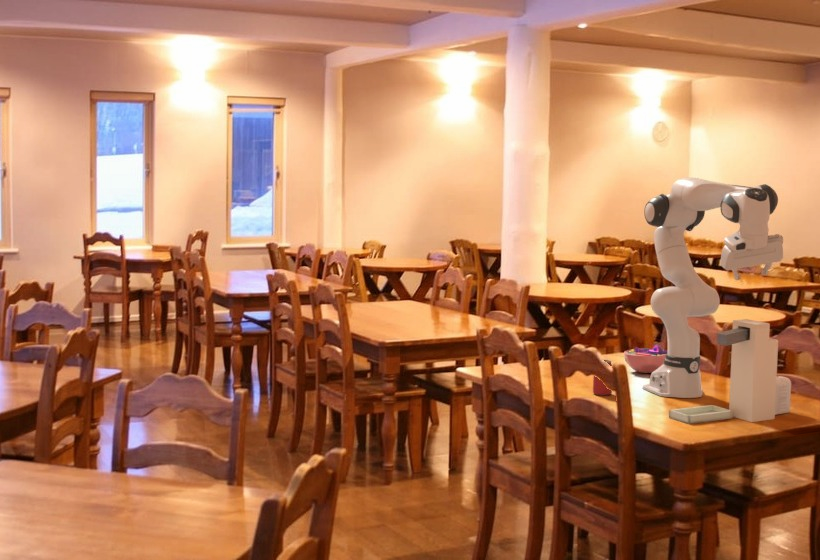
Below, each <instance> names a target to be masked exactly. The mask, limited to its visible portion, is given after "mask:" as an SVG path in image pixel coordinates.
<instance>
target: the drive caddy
mask: <svg viewBox="0 0 820 560" xmlns="http://www.w3.org/2000/svg"><path fill="white" fill-rule="evenodd" d="M716 339H717V342H716V343H717V345H722V346H727V347H728V346H730V345H731V346H732V344H735V343H739V342H743V341H747V340H750V328H747V327H740V328H736V329H733V328H732V329H728V330H725V331H720V332H717V333H716Z"/></svg>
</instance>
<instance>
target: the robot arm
mask: <svg viewBox="0 0 820 560" xmlns="http://www.w3.org/2000/svg"><path fill="white" fill-rule="evenodd" d="M778 197H779V196H778V194H777V192H776V190H774V188H773V187H771V186H770V185H768V184H767V183H766V184H760V185H757V186H754V187H753V186H747V185H746V186H744V185H737V184H728V183H722V182H716V181H711V180H707V179H703V178H698V177H682V178H678V179H677V180H675V181H674V182H673V184H672V185H671V188H670V193H669V194H664V193H660V194H659V195H658V196H656V197H652V198H651V199H649V200H648V201H647V203H646V204H645V206H644V214H643V215H644V218H645V221H646V223H647V224H648V225H649V226H652V227H655V230H654V233H653V241H654V249H655V255H656V258H657V262H658V266H659V269H660V273H661V276H662V277H663V278H664V279H665V280H667V281H669V282H670V283H672V284H673V285H674V286H666V287H661V288H658V289H656V290H655V291H654V292H653V293H652V295H651V298H650V307H651V309H652V311H653V313H654V314H655V315H656V316H657V317H659V318H660V320H661V321H662V324H664V326H665V330H666V338H667V339H666V340H667V355H663V356H665V357H663V358H662V359H664V358H665V360H664V364H663V365H662V366H660V367H659V368H658V369H656V370H655V371H653V372H652V373H650V377H649V383H647V384H645V385H644V384H643V385H642V389H643V390H645V391H647V392H650V393H653V394H655V395H657V396H660V397H663V398H664V397H665V398H678V399H679V398H680V399H693V398H695V399H696V398H700V397H702V396H703V393H704V389H702V377H701V376H702V375H701V374H702V373H701V370H700V366H701V360H702V359H701V356H700V348H701V347H700V346H701V343H700V342H701V337H700V334H699V332H698V331H697V330H696V329H694V328H693V327H691V326H690V325H689V322H688V317H689V318H693V317H705V316H710V315H712V314H713V315H714V314H715V313H716V312H717V310H718V309H719V307H720V302H721V301H720V296H719V293H718V291H717V290H716V289H715V288H714V287H712V286H710V285H709V284H707V283H706V282H705V281H704V280H703V279H702V278H701V277H700V276H699V275H698V273H697V271H696V270H695V267H694V265H693V263H692V260H691V257H690V254H689V250H688V246H687V243H686V241H685V231H686V232H692V231H693V230H694V228H695V227H697V226H698V225H699V224H700V223H701V222H702V221H703V219H704V218H705V212H706V211H710V210H711V211H712V210H714V209H719V208H720V213H721V216H722V217H724V218H725V219H726V220H728V222H730V223H731V222H732V223H733V224H734V223H735V224H738V225H739V229H738V231H736V232H734V233H732V234H730V235H728V236H726V237H725V238H724V239H723V243H724V246H723V247H722V250H721V254H720V266H721V267H722V268H723V269H724V270H725V271H732V273H733V278H734V280H735V281H740V280H741V277H742V275H741V274H740V273H739V272H738V271H739V269H744V268H749V267H757V266H760V265H761V266H762V265H764V266H763V268H761V269H760V274H761V275H762V276H768V274H769V270H770V269H771V268H772V267H773V266H772V265H773V263H779V262H781V261H782V260H783V259H784V248H783V247H784V246H783V243H784V236H782V235H781V234H780V233H779V234H778V233H776V234H771V235H769V224H768V223H769V220H770V215H772V214H773V213H774V212H775V210H776V208H777V207H778V203H779V198H778Z"/></svg>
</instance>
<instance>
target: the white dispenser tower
mask: <svg viewBox="0 0 820 560" xmlns="http://www.w3.org/2000/svg"><path fill="white" fill-rule="evenodd" d="M770 324H771V323H769V322H764V321H758V320H754V319H753V320H752V319H747V318H745V319H744V318H743V319H733V320H732V329H736V328H740V327H747V328H750V340H747V341H743V342H739V343H735V344H732V345H731V355H730V356H731V357H730V358H731V359H730V377H729V378H730V380H729V382H730V383H729V385H730V386H729V404H728V405H729V406H728V410H732V411H733V418H737V419H738V420H739V419H740V420H742V421H746V422H750V423H757V422H762V421H771V420H775V416H776V415H775V399H776V378H777V375H778V374H777V373H778V358H779V357H778V355H779V354H778V352H779V351H778V350H779V339H776V338H771V337H770V330H771V329H770V328H771V325H770Z"/></svg>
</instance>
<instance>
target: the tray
mask: <svg viewBox="0 0 820 560" xmlns="http://www.w3.org/2000/svg"><path fill="white" fill-rule="evenodd" d="M668 418H669V419H672V420H675V421H679V422H681V423H685V424H687V425H690V424H698V423H707V422H715V421H723V420H731V419H733V418H734V417H733V411H732V410H729V408H724V407H722V406H718V405H713V404H709V405H701V406H700V405H699V406H694V407H683V408H676V409H675V408H674V409H669V410H668Z"/></svg>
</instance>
